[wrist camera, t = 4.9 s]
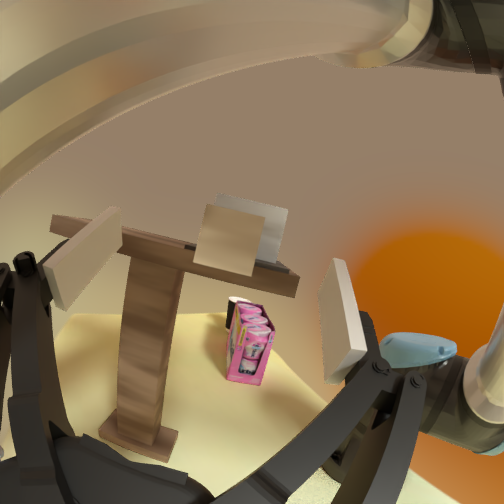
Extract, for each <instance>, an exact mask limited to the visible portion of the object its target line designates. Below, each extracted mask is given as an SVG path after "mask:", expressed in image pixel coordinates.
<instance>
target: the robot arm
mask: <svg viewBox="0 0 504 504" xmlns="http://www.w3.org/2000/svg"><path fill="white" fill-rule="evenodd" d="M452 6H453V7H452ZM455 13H456V14H455ZM461 28H462V29H461ZM465 39H466V40H465ZM466 42H467V43H466ZM467 45H468V46H467ZM468 48H469V49H468ZM469 52H470V53H469ZM311 55H312V56H314V57H316V58H318V59H320V60H322V61H325V62H328V63H331V64H334V65H338V66H343V67H349V68H374V67H379V66H399V67H400V66H401V67H413V68H414V67H415V68H424V69H433V70H442V71H454V72H467V73H477V74H491V75H497V76H498V77H499V78H500V83H501V87H502V93H503V98H504V0H0V198H1V197H2V196H3V195H4V194H5V193H6V192H7V191H9V190H10V189H11V188H12V187H13V186H14V185H15V184H16V183H18V182H19V181H20V180H21V179H23V178H24V177H25V176H26V175H28V174H29V173H30V172H31V171H33V170H34V169H35V168H37V167H38V166H39V165H41V164H42V163H43V162H45V161H46V160H47V159H49V158H50V157H52V156H53V155H55V154H56V153H57V152H59V151H60V150H62V149H63V148H65V147H66V146H68V145H69V144H71V143H72V142H74V141H76V140H77V139H79V138H80V137H82V136H84V135H86V134H87V133H89V132H91V131H92V130H94V129H95V128H97V127H99V126H101V125H103V124H105V123H107V122H108V121H110V120H112V119H114V118H116V117H118V116H120V115H122V114H124V113H126V112H128V111H130V110H132V109H134V108H136V107H138V106H140V105H142V104H145V103H147V102H149V101H151V100H154V99H156V98H158V97H161V96H163V95H166V94H168V93H170V92H173V91H176V90H178V89H181V88H183V87H186V86H189V85H192V84H195V83H198V82H200V81H203V80H206V79H209V78H212V77H216V76H219V75H222V74H226V73H229V72H233V71H237V70H240V69H244V68H248V67H252V66H257V65H261V64H265V63H270V62H275V61H280V60H286V59H291V58H297V57H304V56H311ZM470 55H471V56H470ZM471 58H472V59H471ZM472 62H473V63H472ZM473 65H474V67H473ZM474 69H475V71H474ZM121 246H122V228H121V208H119V207H114V206H110V207H109V208H107V209H106V210H105V211H104V212H102V213H101V214H100V215H99V216H97V217H96V218H95V219H94V220H92V221H91V222H90V223H89V224H87V225H86V226H85V227H84V228H83V229H81V230H80V231H79V232H78V233H77V234H75V235H74V236H73V237H72V238H71V239H67V240H65V241H63V242H61V243H59V244H58V245H57V246H56V247H55V249H53V250H52V251H51V252H50V253H48V254H47V255H46V256H45V257H44V258H43V259H42V260H41V261H40V262H39V263H38V264H36V260H35V257H34V254H33V253H32V252H29V251H25V252H22V253H20V254H18V255H17V256H16V257H15V258H14V260H13V264H14V267H15V270H16V271H11V270H10V267H9V265H8V264H7V263H0V430H1V422H2V409H3V398H4V390H5V382H6V376H7V369H8V364H9V359H10V354H11V374H12V388H13V396H12V397H10V398H9V399H8V413H9V420H10V426H11V432H12V438H13V443H14V447H15V452H16V456H15V457H12V458H9V459H6V460H4V461H1V459H0V504H285V503H286V502H287V500H288V498H289V496H290V495H291V494H292V493H294V492H295V491H296V490H297V489H298V488H299V487H300V486H301V485H302V484H303V483H304V482H305V481H306V480H307V479H308V478H309V477H310V476H311V475H312V474H313V473H314V472H315V471H316V470H317V469H318V468H319V467H320V466H321V465H322V466H323V468H324V470H325V471H326V472H327V473H328V474H329V475H330V476H331V477H332V478H334V479H335V480H336V481H338V482H340V483H342V484H341V486H340V488H339V490H338V492H337V493H336V495H335V497H334V499H333V501H332V502H331V504H396V501H397V499H398V496H399V494H400V491H401V489H402V486H403V483H404V480H405V477H406V474H407V471H408V468H409V465H410V462H411V458H412V455H413V451H414V447H415V444H416V440H417V436H418V432H419V431H421V432H423V433H426V434H428V435H431V436H433V437H436V438H439V439H441V440H443V441H446V442H449V443H451V444H454V445H457V446H460V447H462V448H465V449H468V450H471V451H472V452H474V453H476V454H486V455H497V454H499V453H501V452H503V451H504V304H503V307H502V310H501V313H500V316H499V318H498V321H497V324H496V326H495V329H494V331H493V334H492V336H491V339H490V341H489V343H488V344H486V345H484V346H482V347H481V348H479V349H478V350H477V351H476V352H475V353H474V354H473V355H472V357H471V358H470V359H468V358H465V357H461V356H458V355H456V352H457V349H456V348H457V346H456V343H454V342H453V341H451V340H447V339H445V338H442V337H438V336H432V335H427V334H419V333H405V332H401V333H393V334H389V335H387V336H386V337H384V338H383V340H382V341H381V342H380V345H378V341H377V337H376V335H375V334H376V333H375V329H374V325H373V321H372V319H371V318H370V316H369V315H368V313H367V312H364V311H358V307H357V303H356V299H355V295H354V292H353V288H352V284H351V281H350V277H349V273H348V270H347V266H346V263H345V261H344V260H341V259H337V258H333V259H332V261H331V264H330V266H329V268H328V271H327V273H326V275H325V277H324V280H323V282H322V284H321V286H320V289H319V291H318V302H319V313H320V324H321V336H322V349H323V365H324V382H325V383H327V384H336V385H339V384H340V383H341V382H342V381H343V380H344V379H345V387H344V388H343V389H342V390H341V391H340V392H339V393H338V394H337V395H336V397H335V398H334V399H333V400H332V401H331V402H330V403H329V404H328V405H327V406H326V407H325V408H324V409H323V410H322V411H321V412H320V414H319V415H318V416H317V417H316V418H315V419H314V420H313V421H311V422H310V423H309V424H308V425H307V426H306V427H305V428H304V429H303V430H302V431H301V432H300V433H299V434H298V435H297V436H296V437H295V438H293V439H292V440H291V441H290V442H289V443H288V444H287V445H286V446H284V447H283V448H282V449H281V450H280V451H279V452H277V453H276V454H275V455H274V456H273V457H271V458H270V459H269V460H268V461H266V462H265V463H264V464H263V465H261V466H260V467H259V468H258V469H256V470H255V471H254V472H252V473H251V474H250V475H248V476H247V477H246V478H244V479H243V480H241V481H240V482H238V483H237V484H236V485H234V486H233V487H231V488H230V489H228V490H227V491H225V492H224V493H222V494H221V495H219V496H217V497H216V498H215V497H214V496H213V495H212V494H211V492H210V491H209V490H208V489H207V488H205V487H204V486H203V485H202V484H200V483H199V482H197V481H196V480H194V479H192V478H190V477H188V473H185V472H181V471H178V470H174V469H171V468H167V467H164V466H161V465H153V464H145V463H137V462H131V461H129V460H127V459H126V458H124V457H123V456H122V455H120V454H119V453H117V452H116V451H115V450H113V449H112V448H111V447H109V446H108V445H107V444H105V443H102V442H100V441H98V440H96V439H94V438H92V437H90V436H88V435H86V434H84V433H83V436H82V437H79V436H75V433H74V431H73V429H72V427H71V425H70V423H69V421H68V418H67V415H66V411H65V407H64V403H63V398H62V393H61V389H60V383H59V378H58V372H57V365H56V358H55V351H54V342H53V331H52V318H51V317H52V316H51V306H50V302H51V300H52V299H53V300H54V302H55V305H56V307H58V308H60V309H62V310H64V311H67V310H68V309H69V307H70V306H71V305H72V303H73V302H74V301H75V299H76V298H77V297H78V296H79V295H80V293H81V292H82V291H83V290H84V288H85V287H86V286H87V285H88V284H89V283H90V281H91V280H92V279H93V278H94V277H95V275H96V274H97V273H98V272H99V271H100V270H101V268H102V267H103V266H104V265H105V264H106V263H107V262H108V261H109V259H110V258H111V257H112V256H113V255H114V254H115V253H116V252H117V251H118V250H119V248H120V247H121ZM1 302H3V304H2V306H1ZM3 456H4V450H3V448H2V447H1V446H0V458H2V457H3Z"/></svg>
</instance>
